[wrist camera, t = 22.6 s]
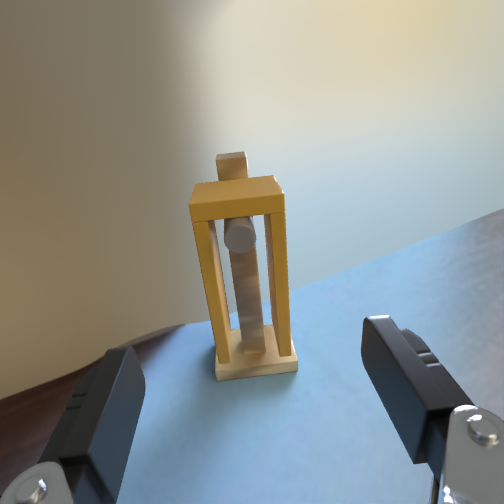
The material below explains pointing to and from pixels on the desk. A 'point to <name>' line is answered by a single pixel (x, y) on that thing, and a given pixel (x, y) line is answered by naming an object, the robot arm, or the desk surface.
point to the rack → (247, 294)
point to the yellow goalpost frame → (203, 215)
